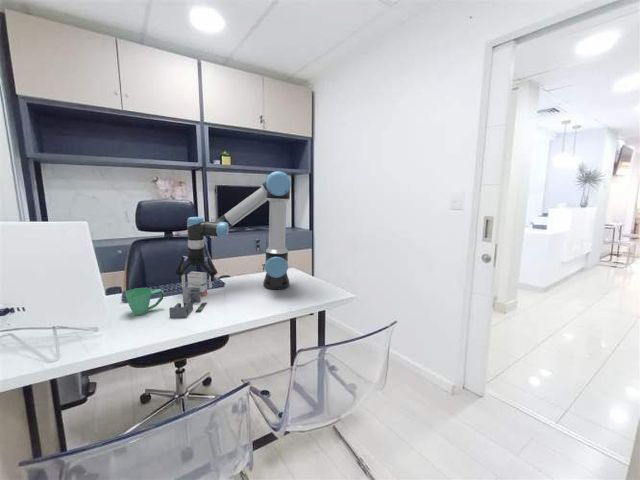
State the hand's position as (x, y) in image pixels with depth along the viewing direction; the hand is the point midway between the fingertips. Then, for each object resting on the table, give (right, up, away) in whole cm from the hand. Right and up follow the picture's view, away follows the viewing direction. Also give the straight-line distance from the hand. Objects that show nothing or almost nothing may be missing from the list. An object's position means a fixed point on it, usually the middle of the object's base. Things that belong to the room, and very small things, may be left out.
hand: (197, 287), depth 155 cm
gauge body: (+4, -8, -18) cm, 20 cm away
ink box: (0, -4, +1) cm, 4 cm away
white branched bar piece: (+3, -6, -12) cm, 14 cm away
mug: (-14, -8, -21) cm, 27 cm away
